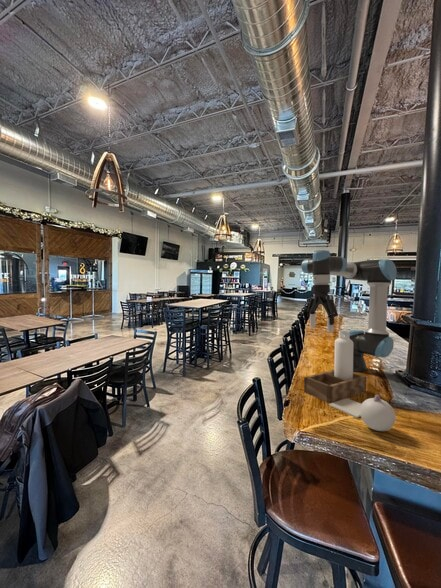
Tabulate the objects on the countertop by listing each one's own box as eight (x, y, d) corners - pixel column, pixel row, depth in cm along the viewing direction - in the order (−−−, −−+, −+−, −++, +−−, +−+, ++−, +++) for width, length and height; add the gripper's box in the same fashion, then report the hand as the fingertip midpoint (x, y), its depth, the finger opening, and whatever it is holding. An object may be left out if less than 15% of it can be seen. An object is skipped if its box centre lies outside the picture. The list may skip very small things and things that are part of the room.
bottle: (331, 389, 125) (332, 331, 125) (337, 384, 131) (338, 329, 130) (349, 394, 120) (350, 333, 119) (354, 389, 126) (355, 331, 125)
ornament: (381, 440, 83) (381, 402, 83) (353, 424, 93) (354, 391, 92) (401, 433, 87) (402, 397, 87) (373, 419, 97) (373, 387, 97)
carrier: (339, 382, 135) (339, 368, 135) (366, 391, 123) (366, 376, 123) (304, 392, 122) (304, 377, 122) (330, 403, 110) (330, 387, 110)
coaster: (346, 399, 114) (346, 398, 114) (374, 410, 104) (374, 409, 104) (328, 405, 108) (328, 404, 108) (356, 418, 98) (356, 416, 98)
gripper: (299, 284, 133) (299, 325, 134) (331, 284, 109) (331, 334, 109) (313, 284, 135) (313, 325, 135) (346, 283, 110) (346, 333, 111)
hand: (321, 329), depth 122 cm, fingers open, 13 cm apart
